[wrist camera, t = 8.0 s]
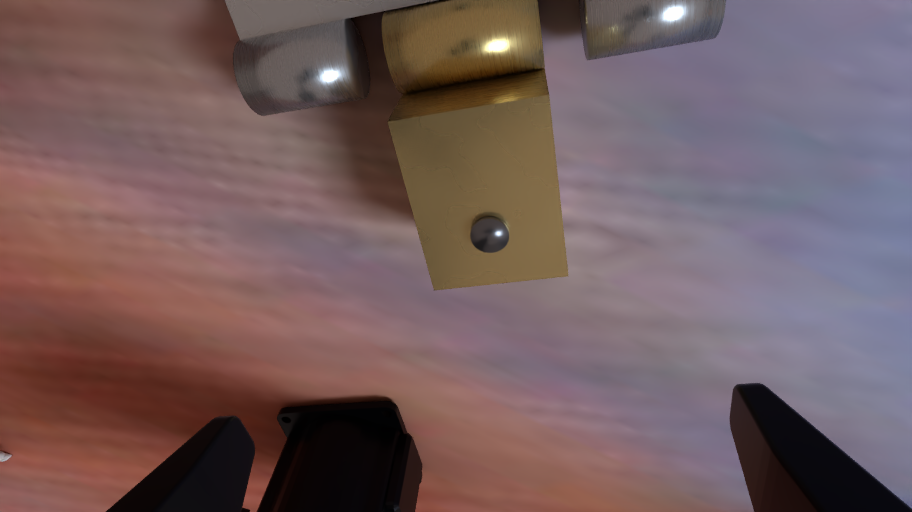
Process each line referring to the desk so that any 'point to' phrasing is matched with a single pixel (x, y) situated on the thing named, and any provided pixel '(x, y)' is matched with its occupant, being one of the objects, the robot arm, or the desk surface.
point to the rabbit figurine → (4, 456)
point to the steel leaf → (331, 4)
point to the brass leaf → (476, 140)
